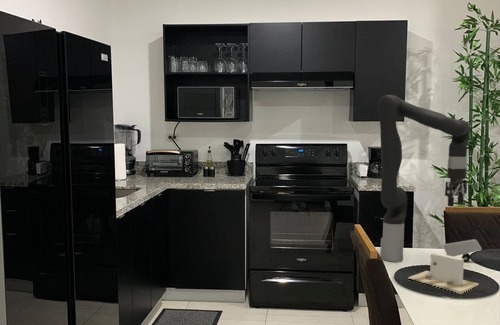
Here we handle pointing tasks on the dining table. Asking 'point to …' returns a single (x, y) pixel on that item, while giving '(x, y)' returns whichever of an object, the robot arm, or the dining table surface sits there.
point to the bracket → (462, 248)
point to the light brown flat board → (443, 283)
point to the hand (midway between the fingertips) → (455, 205)
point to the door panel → (446, 268)
